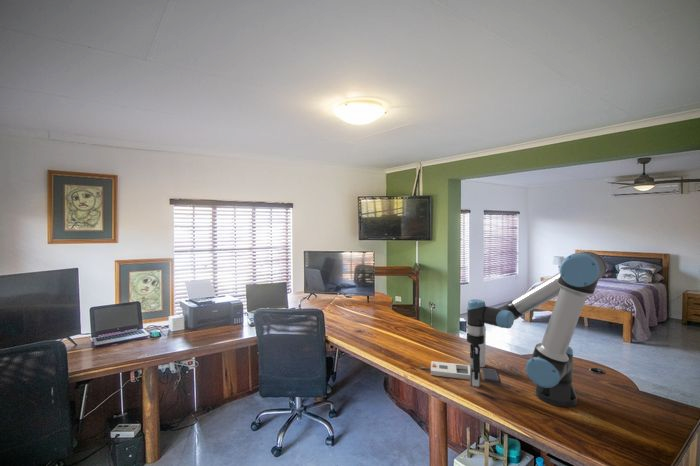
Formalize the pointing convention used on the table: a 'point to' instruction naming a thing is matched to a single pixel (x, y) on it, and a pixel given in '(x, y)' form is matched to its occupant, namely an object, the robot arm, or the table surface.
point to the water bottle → (482, 351)
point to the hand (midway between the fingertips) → (474, 379)
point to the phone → (490, 375)
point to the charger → (472, 375)
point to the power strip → (449, 370)
